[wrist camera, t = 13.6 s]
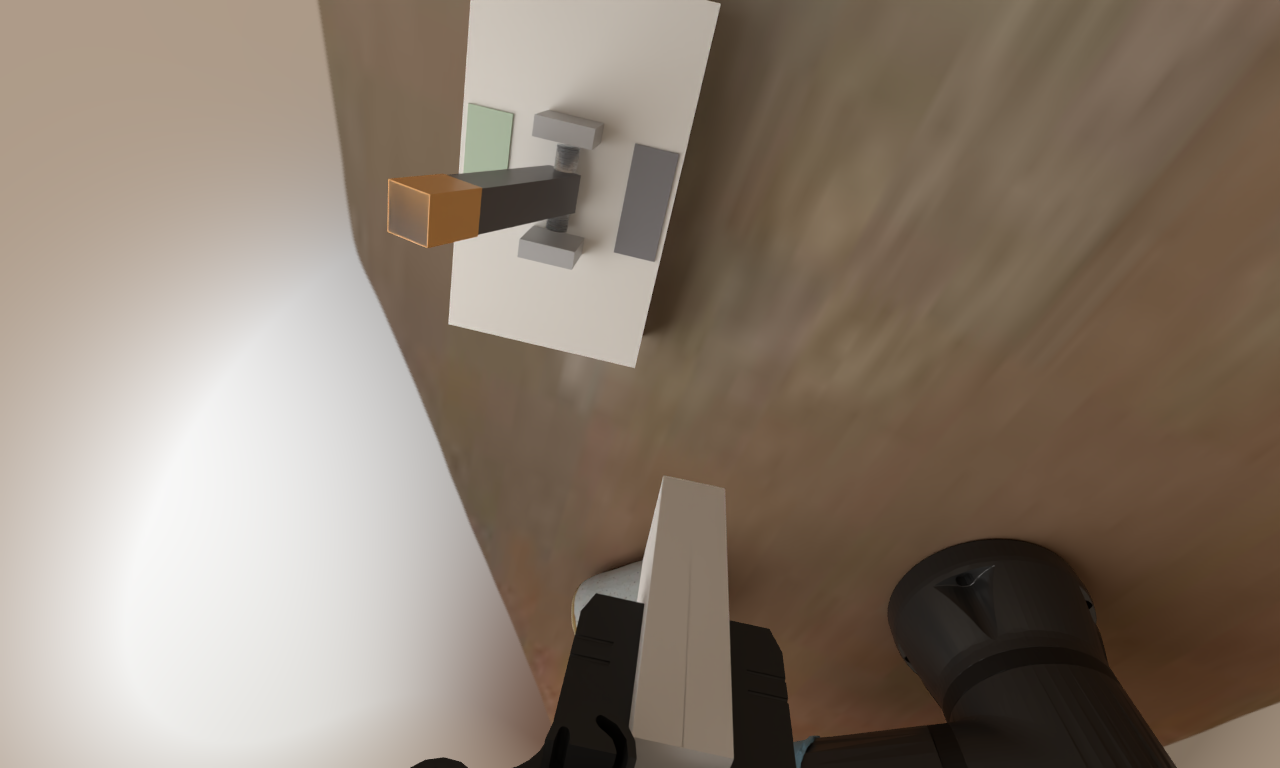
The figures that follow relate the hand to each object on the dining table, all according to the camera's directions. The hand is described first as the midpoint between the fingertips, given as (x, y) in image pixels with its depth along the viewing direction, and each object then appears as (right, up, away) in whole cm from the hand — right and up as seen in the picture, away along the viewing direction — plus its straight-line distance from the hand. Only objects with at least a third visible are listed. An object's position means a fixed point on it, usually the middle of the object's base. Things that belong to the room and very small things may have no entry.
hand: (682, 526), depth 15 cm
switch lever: (-5, +14, +18) cm, 23 cm away
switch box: (-5, +17, +23) cm, 29 cm away
